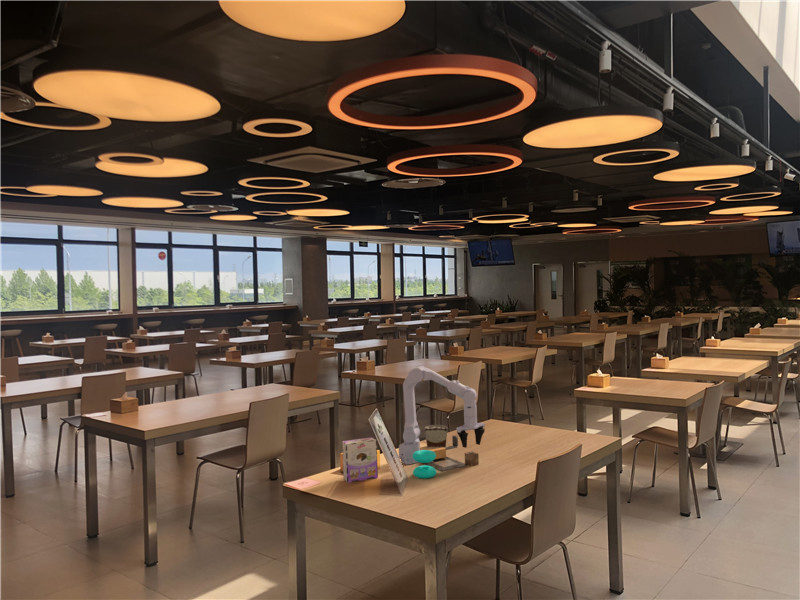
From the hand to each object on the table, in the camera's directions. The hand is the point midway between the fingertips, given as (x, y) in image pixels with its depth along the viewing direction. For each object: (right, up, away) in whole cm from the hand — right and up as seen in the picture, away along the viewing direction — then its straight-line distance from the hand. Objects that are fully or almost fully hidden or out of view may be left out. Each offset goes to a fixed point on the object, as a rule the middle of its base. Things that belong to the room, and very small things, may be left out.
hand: (471, 445), depth 265 cm
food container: (-14, -8, +33) cm, 36 cm away
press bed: (-12, -9, +2) cm, 15 cm away
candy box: (-49, -10, -15) cm, 52 cm away
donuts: (-22, -10, -14) cm, 27 cm away
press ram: (-12, -7, +9) cm, 17 cm away
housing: (0, -8, 0) cm, 8 cm away
